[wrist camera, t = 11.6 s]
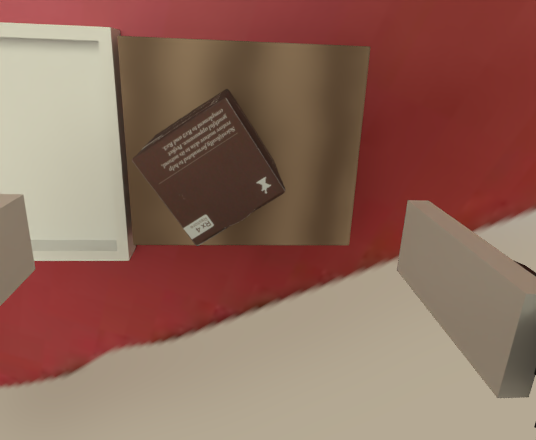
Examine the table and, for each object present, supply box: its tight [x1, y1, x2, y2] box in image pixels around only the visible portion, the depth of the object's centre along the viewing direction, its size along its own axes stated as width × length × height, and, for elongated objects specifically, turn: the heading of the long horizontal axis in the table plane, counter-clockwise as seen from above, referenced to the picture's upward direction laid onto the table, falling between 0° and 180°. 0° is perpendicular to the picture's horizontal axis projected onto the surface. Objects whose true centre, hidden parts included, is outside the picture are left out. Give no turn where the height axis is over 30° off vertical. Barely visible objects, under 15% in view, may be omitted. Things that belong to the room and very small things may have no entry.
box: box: [132, 89, 285, 246], centre depth 26 cm, size 6×6×7 cm
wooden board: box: [117, 36, 370, 245], centre depth 31 cm, size 16×14×3 cm
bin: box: [0, 22, 136, 261], centre depth 30 cm, size 12×16×2 cm
